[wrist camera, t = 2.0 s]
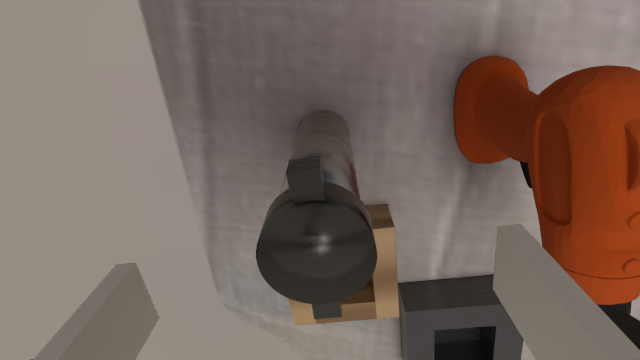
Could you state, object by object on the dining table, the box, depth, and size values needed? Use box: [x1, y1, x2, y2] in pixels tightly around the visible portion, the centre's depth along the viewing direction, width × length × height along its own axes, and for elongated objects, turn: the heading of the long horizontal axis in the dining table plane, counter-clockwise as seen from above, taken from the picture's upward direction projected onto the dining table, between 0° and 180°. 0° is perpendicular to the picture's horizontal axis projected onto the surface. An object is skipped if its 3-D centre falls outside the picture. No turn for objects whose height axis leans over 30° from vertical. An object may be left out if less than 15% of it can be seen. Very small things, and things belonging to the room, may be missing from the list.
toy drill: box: [454, 56, 640, 315], centre depth 21 cm, size 5×19×15 cm, turn 12°
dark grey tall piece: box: [256, 111, 377, 319], centre depth 20 cm, size 7×5×15 cm, turn 8°
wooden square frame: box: [289, 204, 399, 325], centre depth 30 cm, size 9×9×4 cm
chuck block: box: [398, 275, 523, 360], centre depth 33 cm, size 10×10×4 cm
